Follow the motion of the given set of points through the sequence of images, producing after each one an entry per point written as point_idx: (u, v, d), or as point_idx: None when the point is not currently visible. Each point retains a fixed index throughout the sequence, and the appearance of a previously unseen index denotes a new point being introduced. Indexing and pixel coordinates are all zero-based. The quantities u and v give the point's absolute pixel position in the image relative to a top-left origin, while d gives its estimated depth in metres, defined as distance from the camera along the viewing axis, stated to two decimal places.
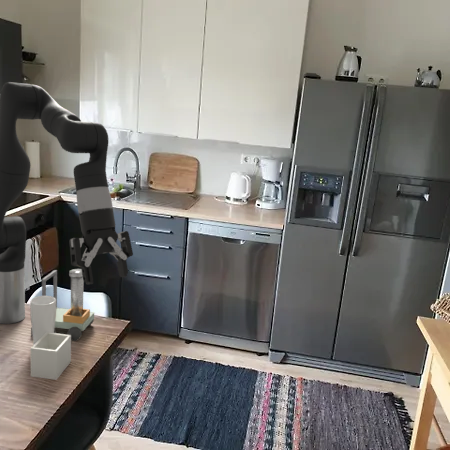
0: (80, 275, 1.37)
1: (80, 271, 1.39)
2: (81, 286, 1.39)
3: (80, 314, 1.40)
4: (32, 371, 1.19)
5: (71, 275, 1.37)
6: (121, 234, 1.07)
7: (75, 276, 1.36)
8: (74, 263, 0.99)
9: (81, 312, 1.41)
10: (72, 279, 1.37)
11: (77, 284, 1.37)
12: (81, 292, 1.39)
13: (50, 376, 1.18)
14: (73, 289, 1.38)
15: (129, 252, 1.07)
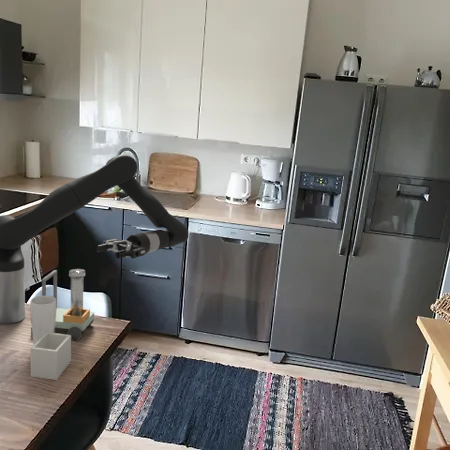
0: (80, 275, 1.37)
1: (80, 271, 1.39)
2: (81, 286, 1.39)
3: (80, 314, 1.40)
4: (32, 371, 1.19)
5: (71, 275, 1.37)
6: None
7: (75, 276, 1.36)
8: (133, 254, 1.47)
9: (81, 312, 1.41)
10: (72, 279, 1.37)
11: (77, 283, 1.37)
12: (81, 292, 1.39)
13: (50, 376, 1.18)
14: (73, 289, 1.38)
15: None
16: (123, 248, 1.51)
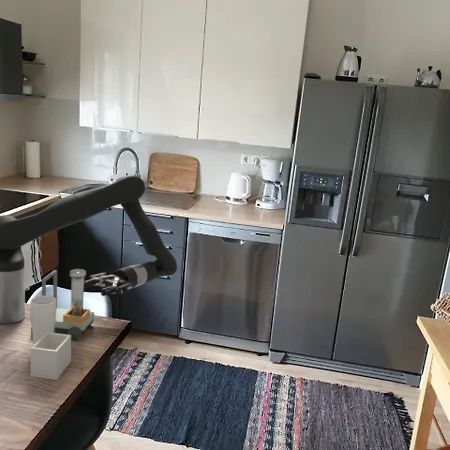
0: (81, 275, 1.37)
1: (81, 271, 1.38)
2: (81, 286, 1.38)
3: (80, 314, 1.40)
4: (32, 371, 1.19)
5: (72, 275, 1.36)
6: None
7: (76, 276, 1.36)
8: (120, 291, 1.45)
9: (81, 312, 1.41)
10: (73, 279, 1.37)
11: (78, 284, 1.37)
12: (81, 292, 1.39)
13: (50, 376, 1.18)
14: (74, 289, 1.38)
15: None
16: (110, 284, 1.49)
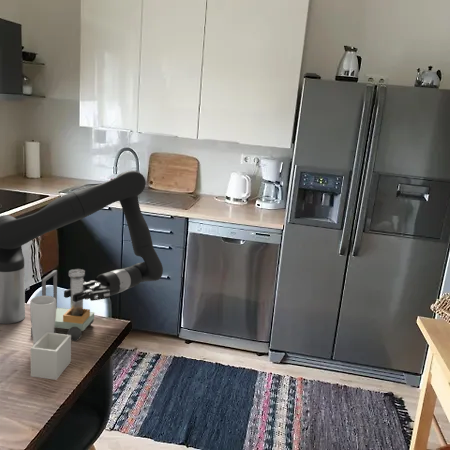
0: (80, 275, 1.37)
1: (79, 271, 1.38)
2: (81, 286, 1.38)
3: (80, 314, 1.40)
4: (32, 371, 1.19)
5: (71, 275, 1.36)
6: None
7: (75, 276, 1.36)
8: (93, 296, 1.39)
9: (81, 312, 1.41)
10: (72, 279, 1.37)
11: (77, 284, 1.37)
12: None
13: (50, 376, 1.18)
14: (73, 289, 1.38)
15: None
16: (89, 288, 1.44)
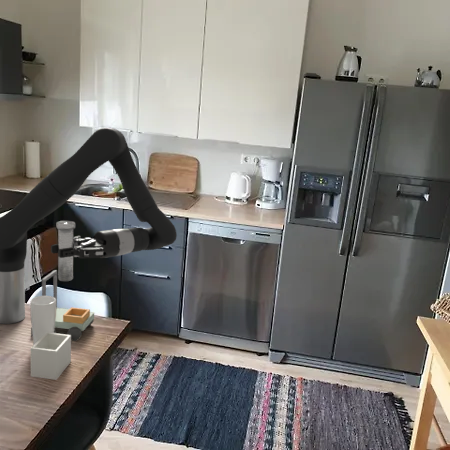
0: (67, 227, 1.17)
1: (69, 223, 1.18)
2: (69, 240, 1.18)
3: (68, 274, 1.20)
4: (32, 371, 1.19)
5: (57, 226, 1.17)
6: None
7: (61, 227, 1.16)
8: (82, 254, 1.18)
9: (70, 271, 1.21)
10: (59, 231, 1.18)
11: (64, 237, 1.17)
12: (69, 247, 1.19)
13: (50, 376, 1.18)
14: (60, 244, 1.18)
15: None
16: None
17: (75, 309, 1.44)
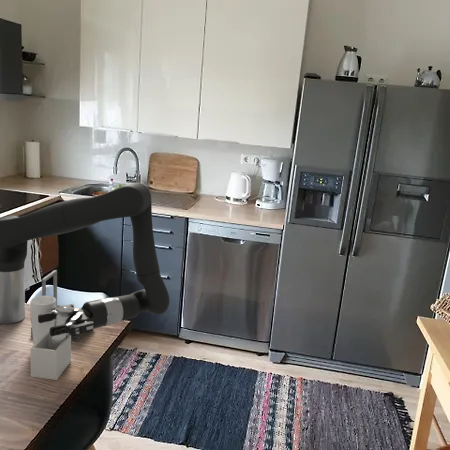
0: (66, 311, 1.21)
1: (69, 308, 1.23)
2: (65, 325, 1.22)
3: None
4: (32, 371, 1.19)
5: (57, 309, 1.22)
6: None
7: (61, 311, 1.21)
8: (74, 332, 1.17)
9: None
10: (57, 314, 1.22)
11: (61, 320, 1.21)
12: None
13: (50, 376, 1.18)
14: None
15: None
16: (69, 320, 1.22)
17: None
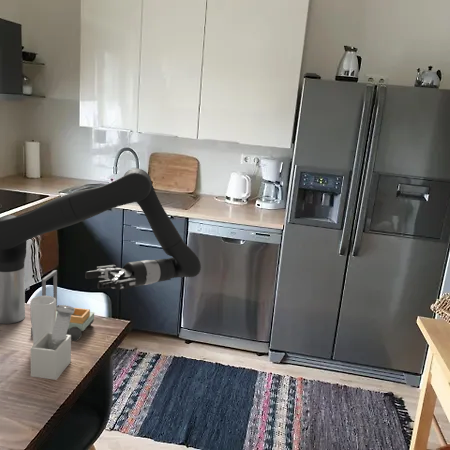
0: (66, 311, 1.21)
1: (69, 308, 1.23)
2: (65, 325, 1.22)
3: None
4: (32, 371, 1.19)
5: (57, 309, 1.22)
6: None
7: (61, 311, 1.21)
8: (119, 286, 1.30)
9: None
10: (57, 314, 1.22)
11: (61, 320, 1.21)
12: (63, 332, 1.22)
13: (50, 376, 1.18)
14: (56, 326, 1.22)
15: None
16: (113, 277, 1.35)
17: (75, 309, 1.44)
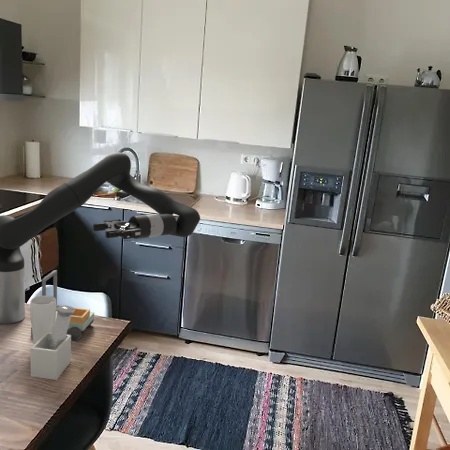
0: (66, 311, 1.21)
1: (69, 308, 1.23)
2: (65, 325, 1.22)
3: None
4: (32, 371, 1.19)
5: (57, 309, 1.22)
6: None
7: (61, 311, 1.21)
8: (125, 235, 1.38)
9: None
10: (57, 314, 1.22)
11: (61, 320, 1.21)
12: (63, 332, 1.22)
13: (50, 376, 1.18)
14: (56, 326, 1.22)
15: None
16: (119, 228, 1.43)
17: (75, 309, 1.44)
